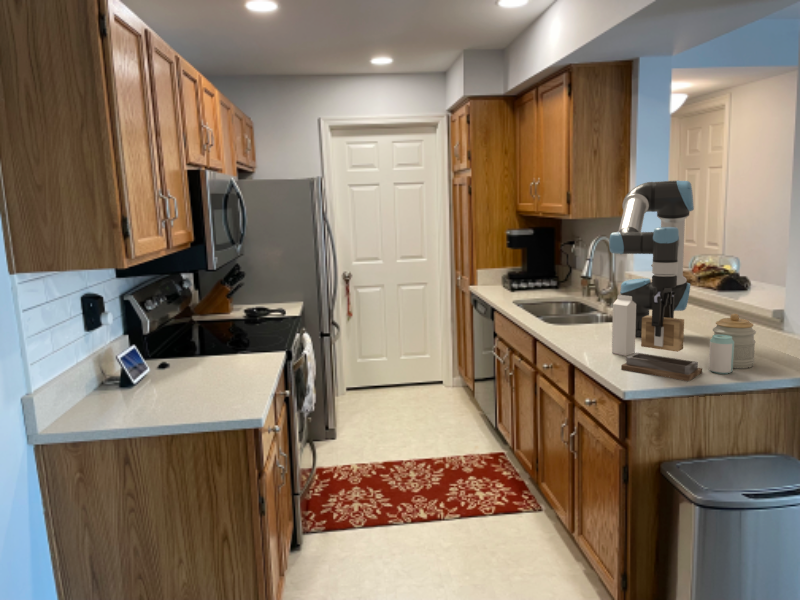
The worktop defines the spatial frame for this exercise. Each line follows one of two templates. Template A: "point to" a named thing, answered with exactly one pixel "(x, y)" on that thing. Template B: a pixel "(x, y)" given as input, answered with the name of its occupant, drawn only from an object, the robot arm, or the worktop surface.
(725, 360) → the can
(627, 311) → the milk
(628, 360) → the wooden tray
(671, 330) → the tan wooden block
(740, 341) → the jar
